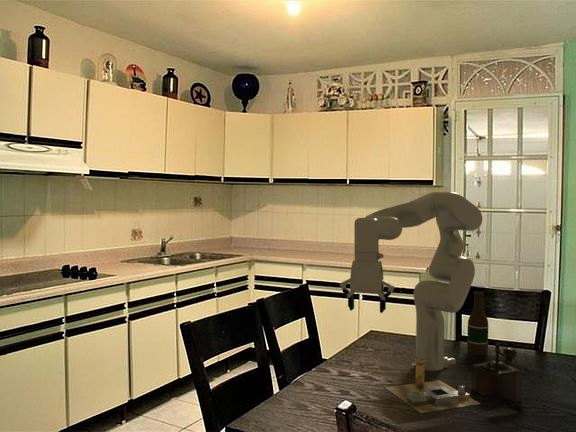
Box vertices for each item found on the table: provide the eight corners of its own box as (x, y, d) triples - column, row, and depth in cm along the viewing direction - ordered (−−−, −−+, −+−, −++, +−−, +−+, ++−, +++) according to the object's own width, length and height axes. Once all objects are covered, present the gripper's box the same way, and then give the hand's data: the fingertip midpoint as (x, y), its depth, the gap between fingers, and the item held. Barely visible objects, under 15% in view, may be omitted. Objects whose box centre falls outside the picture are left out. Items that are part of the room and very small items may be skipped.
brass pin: (421, 385, 163) (421, 357, 163) (427, 389, 160) (428, 360, 160) (412, 386, 162) (412, 358, 162) (418, 390, 159) (418, 361, 159)
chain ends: (457, 391, 159) (457, 381, 158) (474, 401, 151) (475, 391, 151) (403, 399, 152) (403, 388, 152) (418, 409, 145) (418, 399, 145)
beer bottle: (465, 349, 208) (466, 290, 207) (485, 350, 206) (486, 290, 206) (469, 355, 200) (470, 293, 199) (490, 356, 199) (491, 294, 198)
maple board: (439, 384, 168) (439, 380, 168) (480, 408, 149) (480, 403, 149) (384, 392, 162) (384, 387, 162) (420, 418, 143) (420, 412, 143)
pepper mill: (468, 394, 160) (469, 337, 159) (495, 389, 165) (496, 333, 164) (508, 414, 146) (510, 350, 145) (536, 407, 151) (538, 346, 150)
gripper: (396, 256, 163) (396, 310, 164) (343, 254, 169) (343, 306, 170) (392, 259, 156) (392, 315, 157) (336, 257, 162) (337, 311, 163)
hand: (366, 310), depth 164 cm, fingers open, 9 cm apart
